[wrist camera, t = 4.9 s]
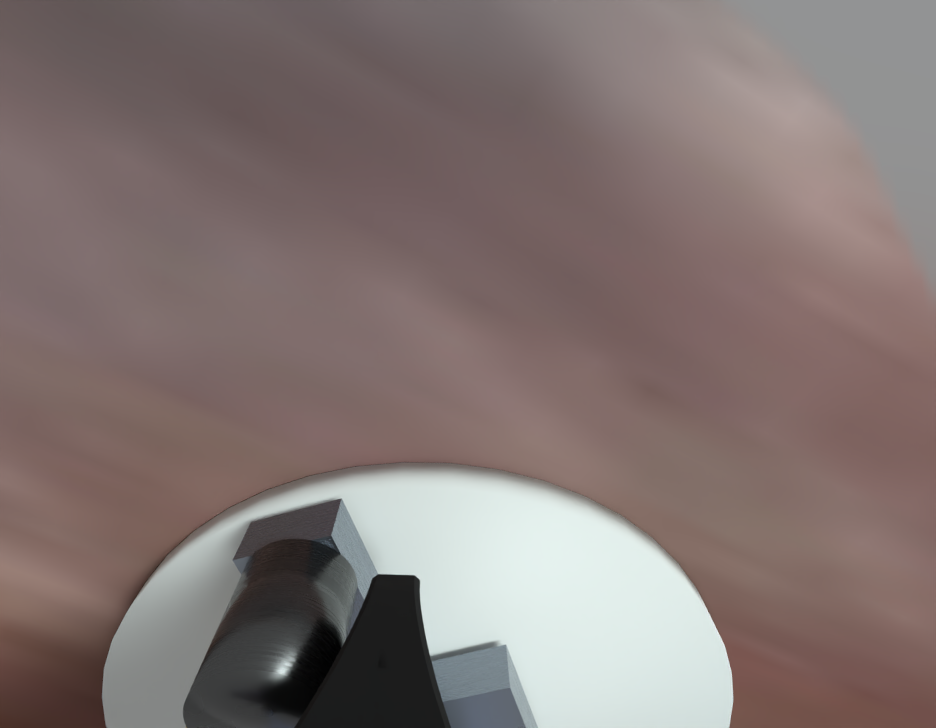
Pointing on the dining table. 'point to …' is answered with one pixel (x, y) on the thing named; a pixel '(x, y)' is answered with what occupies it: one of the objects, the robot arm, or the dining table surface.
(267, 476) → the dining table surface
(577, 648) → the base plate
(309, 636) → the crank handle
